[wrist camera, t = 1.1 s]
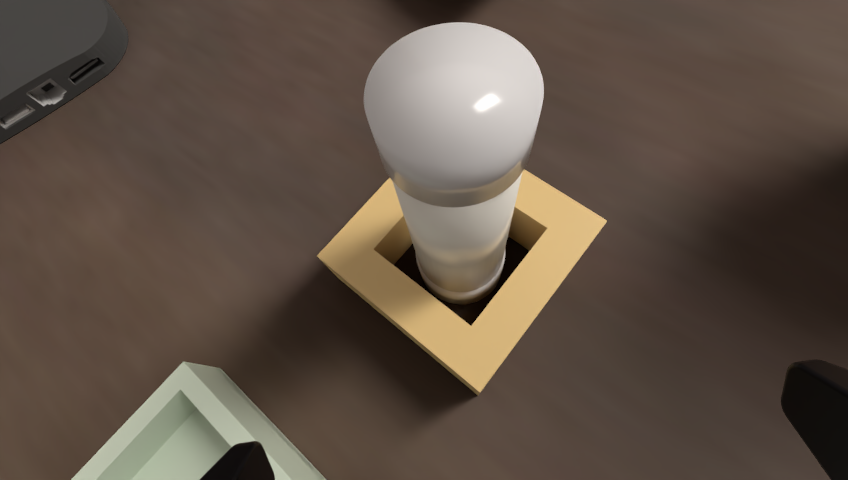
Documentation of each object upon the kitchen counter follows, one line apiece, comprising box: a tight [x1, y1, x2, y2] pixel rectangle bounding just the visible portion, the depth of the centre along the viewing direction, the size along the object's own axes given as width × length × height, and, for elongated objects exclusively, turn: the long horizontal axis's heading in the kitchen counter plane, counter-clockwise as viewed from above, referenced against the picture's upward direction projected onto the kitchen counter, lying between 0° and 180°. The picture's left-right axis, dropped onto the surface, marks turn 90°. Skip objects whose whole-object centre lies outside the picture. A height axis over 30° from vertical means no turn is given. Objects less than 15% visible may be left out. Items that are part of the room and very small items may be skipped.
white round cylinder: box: [364, 22, 544, 305], centre depth 16 cm, size 4×4×13 cm
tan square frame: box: [317, 170, 607, 395], centre depth 21 cm, size 9×9×4 cm
